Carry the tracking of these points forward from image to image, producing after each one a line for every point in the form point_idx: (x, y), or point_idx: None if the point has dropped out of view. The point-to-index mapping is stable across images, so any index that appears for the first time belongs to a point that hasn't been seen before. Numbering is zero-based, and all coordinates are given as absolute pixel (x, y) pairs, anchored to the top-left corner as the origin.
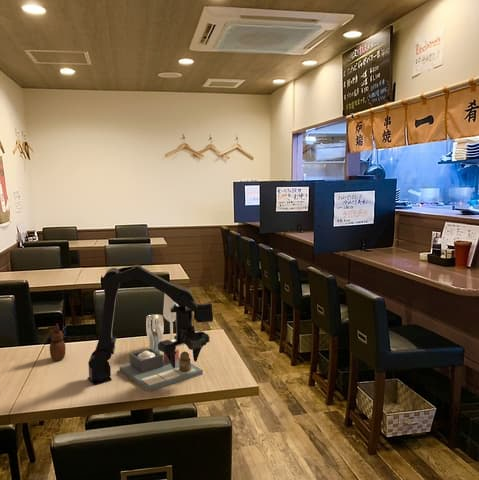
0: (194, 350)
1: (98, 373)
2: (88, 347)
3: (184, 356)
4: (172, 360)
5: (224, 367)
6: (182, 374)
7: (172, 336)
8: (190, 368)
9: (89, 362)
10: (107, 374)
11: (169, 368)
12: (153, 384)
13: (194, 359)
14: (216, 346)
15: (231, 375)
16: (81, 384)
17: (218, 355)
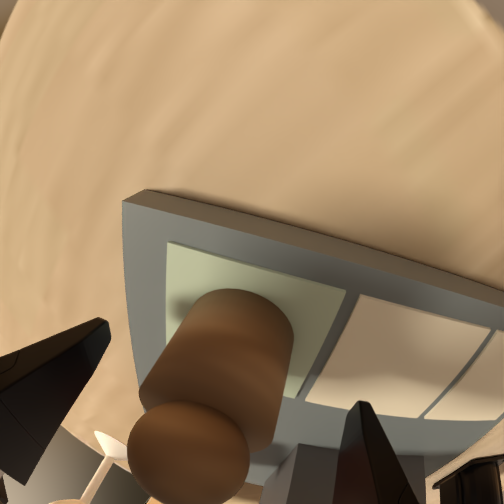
0: (45, 410)
1: (498, 486)
2: None
3: (220, 469)
4: (410, 486)
5: (15, 157)
6: (340, 294)
7: (103, 464)
8: (197, 303)
9: None
10: (469, 481)
11: (296, 417)
12: None
13: (100, 345)
14: (4, 329)
15: (48, 28)
16: (500, 466)
17: (5, 282)
